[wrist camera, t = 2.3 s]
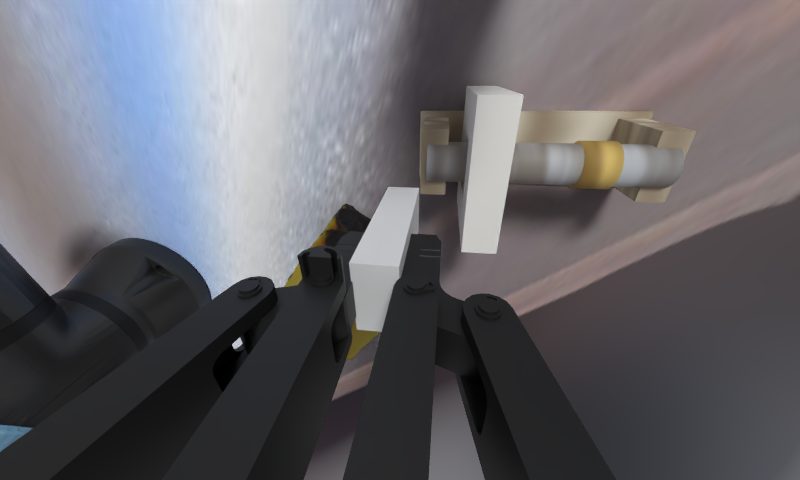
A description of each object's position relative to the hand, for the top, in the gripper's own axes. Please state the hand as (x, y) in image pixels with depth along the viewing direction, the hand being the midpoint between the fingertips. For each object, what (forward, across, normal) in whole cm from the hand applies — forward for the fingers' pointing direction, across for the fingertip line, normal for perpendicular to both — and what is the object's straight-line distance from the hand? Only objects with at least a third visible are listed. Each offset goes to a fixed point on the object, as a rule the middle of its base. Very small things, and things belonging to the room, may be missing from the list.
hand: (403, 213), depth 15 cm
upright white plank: (+16, +4, 0) cm, 17 cm away
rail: (+16, +9, 0) cm, 18 cm away
